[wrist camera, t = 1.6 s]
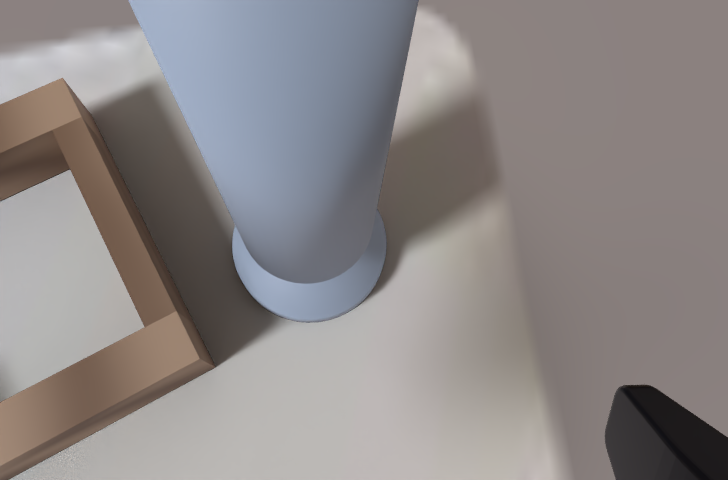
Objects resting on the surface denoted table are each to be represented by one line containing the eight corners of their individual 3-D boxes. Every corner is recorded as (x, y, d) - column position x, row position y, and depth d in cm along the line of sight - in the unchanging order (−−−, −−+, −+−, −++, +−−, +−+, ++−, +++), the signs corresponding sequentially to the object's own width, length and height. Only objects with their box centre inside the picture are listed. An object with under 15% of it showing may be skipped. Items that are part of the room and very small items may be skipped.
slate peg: (361, 341, 21) (436, 116, 6) (214, 298, 22) (-75, -25, 6) (401, 201, 23) (539, -262, 8) (262, 163, 23) (124, -367, 8)
